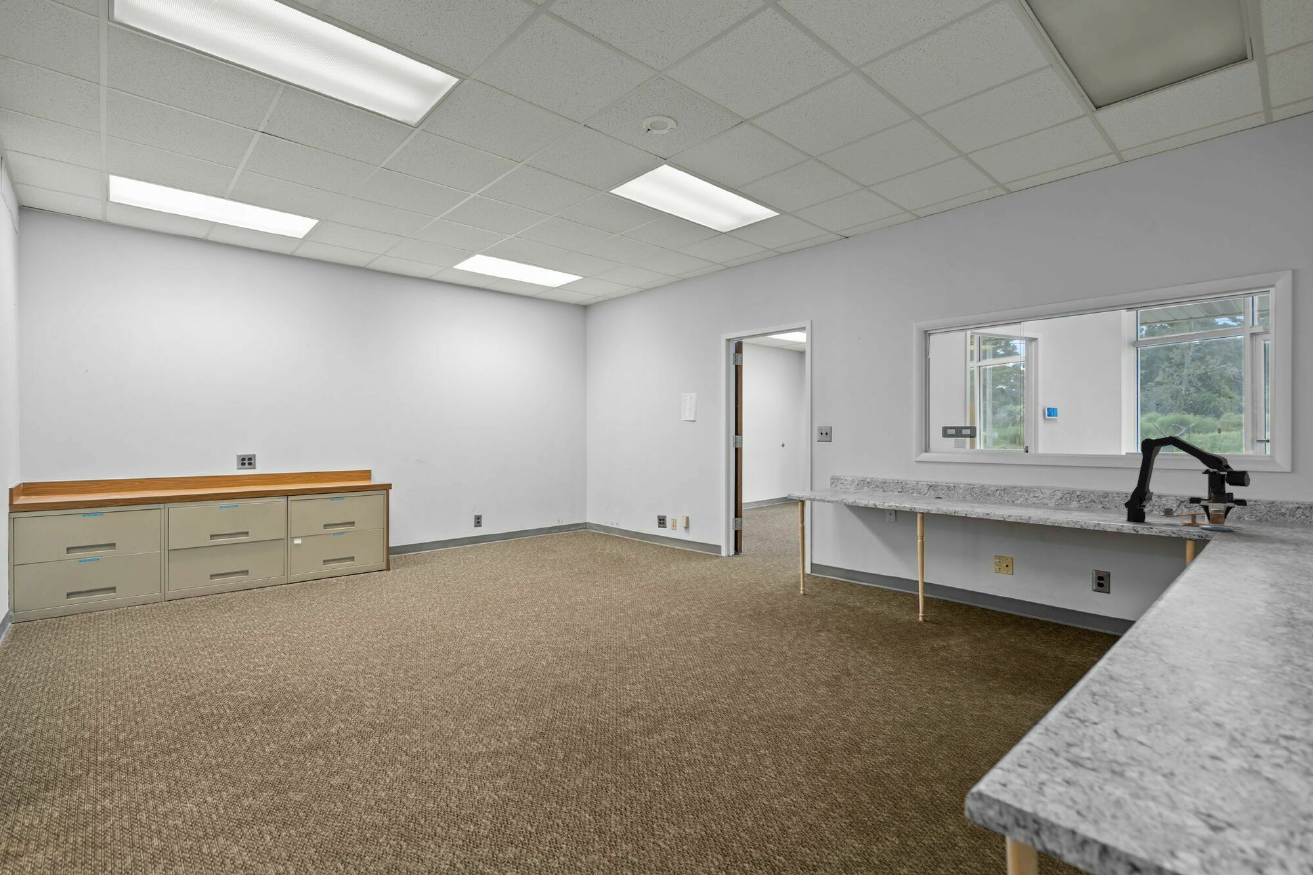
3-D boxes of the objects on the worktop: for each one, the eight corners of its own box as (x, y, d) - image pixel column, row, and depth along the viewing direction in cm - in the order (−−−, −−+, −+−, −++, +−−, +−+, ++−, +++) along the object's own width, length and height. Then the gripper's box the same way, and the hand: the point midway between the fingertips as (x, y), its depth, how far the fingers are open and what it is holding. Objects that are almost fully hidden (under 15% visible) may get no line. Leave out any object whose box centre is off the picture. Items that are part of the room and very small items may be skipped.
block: (1210, 523, 272) (1210, 513, 272) (1208, 522, 276) (1208, 512, 276) (1224, 524, 270) (1224, 514, 270) (1222, 523, 274) (1222, 513, 273)
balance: (1160, 523, 290) (1160, 507, 290) (1159, 522, 295) (1159, 505, 295) (1230, 528, 277) (1230, 510, 277) (1227, 526, 282) (1227, 509, 282)
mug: (1205, 524, 288) (1205, 498, 288) (1203, 523, 293) (1203, 497, 293) (1235, 526, 282) (1235, 499, 282) (1232, 524, 287) (1233, 498, 287)
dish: (1202, 530, 271) (1202, 527, 271) (1197, 527, 280) (1197, 524, 280) (1236, 532, 265) (1236, 529, 265) (1230, 529, 274) (1230, 526, 274)
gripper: (1191, 485, 271) (1191, 521, 271) (1250, 487, 261) (1250, 525, 261) (1187, 483, 280) (1187, 518, 281) (1243, 485, 270) (1243, 522, 270)
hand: (1216, 521), depth 273 cm, fingers closed on block, 4 cm apart
